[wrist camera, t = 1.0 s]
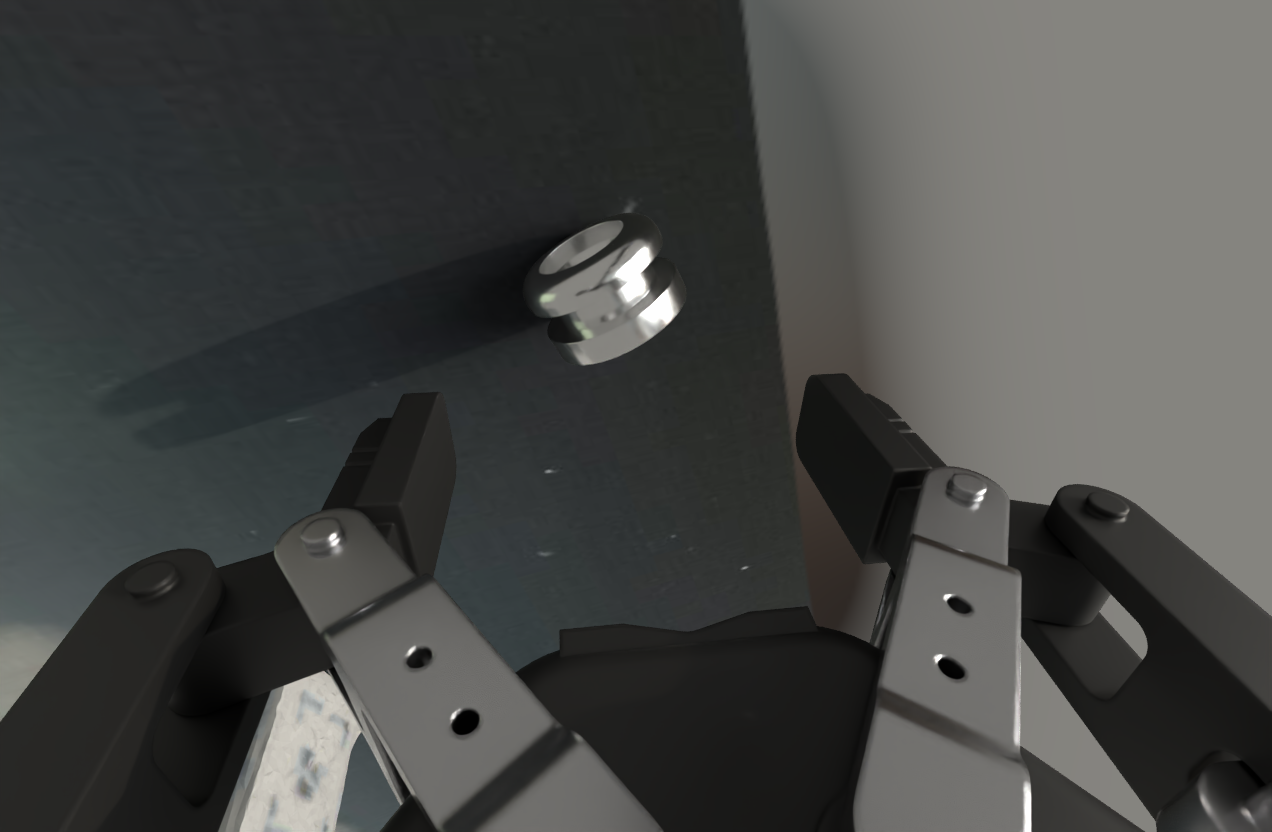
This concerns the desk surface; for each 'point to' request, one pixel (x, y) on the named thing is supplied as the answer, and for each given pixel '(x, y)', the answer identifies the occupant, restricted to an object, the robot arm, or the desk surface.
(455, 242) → the desk surface
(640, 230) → the metal grooved wheel
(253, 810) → the incense holder
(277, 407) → the desk surface
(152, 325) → the desk surface
